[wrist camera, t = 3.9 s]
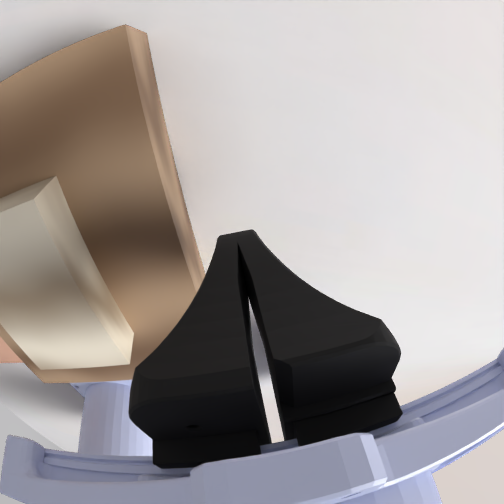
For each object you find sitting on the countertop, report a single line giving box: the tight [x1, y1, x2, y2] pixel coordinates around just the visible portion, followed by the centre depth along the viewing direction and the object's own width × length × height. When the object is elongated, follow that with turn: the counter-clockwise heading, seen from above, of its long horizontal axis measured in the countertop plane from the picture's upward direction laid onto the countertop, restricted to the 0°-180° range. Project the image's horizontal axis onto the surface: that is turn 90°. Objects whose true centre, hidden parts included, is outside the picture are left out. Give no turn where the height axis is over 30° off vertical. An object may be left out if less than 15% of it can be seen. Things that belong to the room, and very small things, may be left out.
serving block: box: [0, 24, 205, 383], centre depth 14 cm, size 18×14×4 cm
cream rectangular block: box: [0, 176, 134, 370], centre depth 11 cm, size 9×6×2 cm, turn 8°
